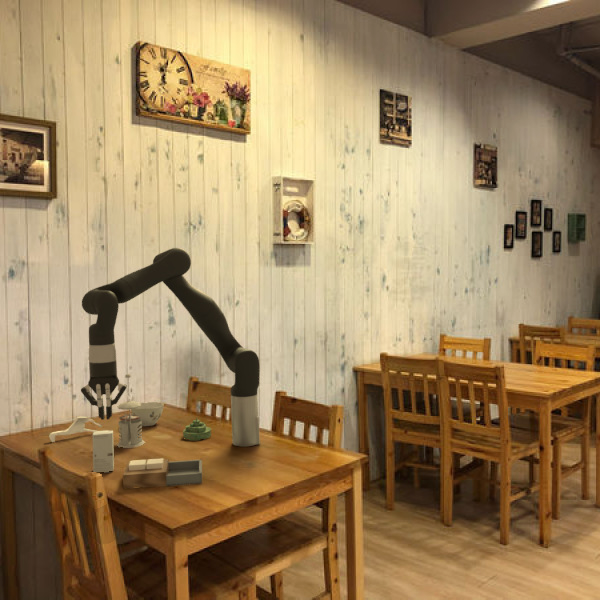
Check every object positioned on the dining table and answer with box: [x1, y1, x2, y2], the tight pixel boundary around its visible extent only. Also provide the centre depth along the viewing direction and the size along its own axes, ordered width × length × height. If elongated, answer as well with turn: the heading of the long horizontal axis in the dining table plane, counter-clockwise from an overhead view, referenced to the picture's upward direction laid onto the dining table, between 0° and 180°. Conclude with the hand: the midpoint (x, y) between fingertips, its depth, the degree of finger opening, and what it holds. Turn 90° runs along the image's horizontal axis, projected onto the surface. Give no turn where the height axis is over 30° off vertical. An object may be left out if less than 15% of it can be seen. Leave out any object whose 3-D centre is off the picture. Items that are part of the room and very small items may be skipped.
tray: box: [166, 459, 203, 487], centre depth 189 cm, size 10×13×3 cm
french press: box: [116, 373, 146, 449], centre depth 224 cm, size 10×12×25 cm
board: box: [122, 458, 170, 489], centre depth 187 cm, size 12×12×4 cm
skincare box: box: [91, 429, 115, 473], centre depth 197 cm, size 6×4×12 cm
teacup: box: [130, 401, 164, 427], centre depth 252 cm, size 15×12×8 cm
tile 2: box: [146, 457, 164, 469], centre depth 187 cm, size 4×4×2 cm
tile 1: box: [129, 459, 147, 471], centre depth 187 cm, size 4×4×2 cm
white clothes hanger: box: [48, 416, 103, 443], centre depth 236 cm, size 2×11×18 cm
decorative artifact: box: [182, 417, 212, 441], centre depth 232 cm, size 10×7×10 cm
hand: (105, 418), depth 184 cm, fingers closed
